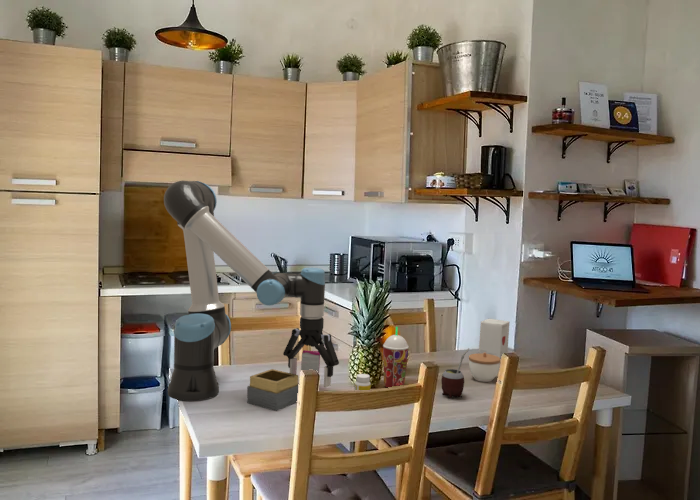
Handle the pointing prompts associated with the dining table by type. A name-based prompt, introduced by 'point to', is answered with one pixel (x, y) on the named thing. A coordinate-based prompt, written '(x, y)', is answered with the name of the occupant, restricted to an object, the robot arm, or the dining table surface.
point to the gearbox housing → (273, 389)
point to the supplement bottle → (362, 382)
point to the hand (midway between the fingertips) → (309, 382)
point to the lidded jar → (484, 366)
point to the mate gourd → (453, 381)
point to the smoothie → (395, 360)
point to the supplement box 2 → (494, 337)
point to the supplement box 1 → (310, 360)
